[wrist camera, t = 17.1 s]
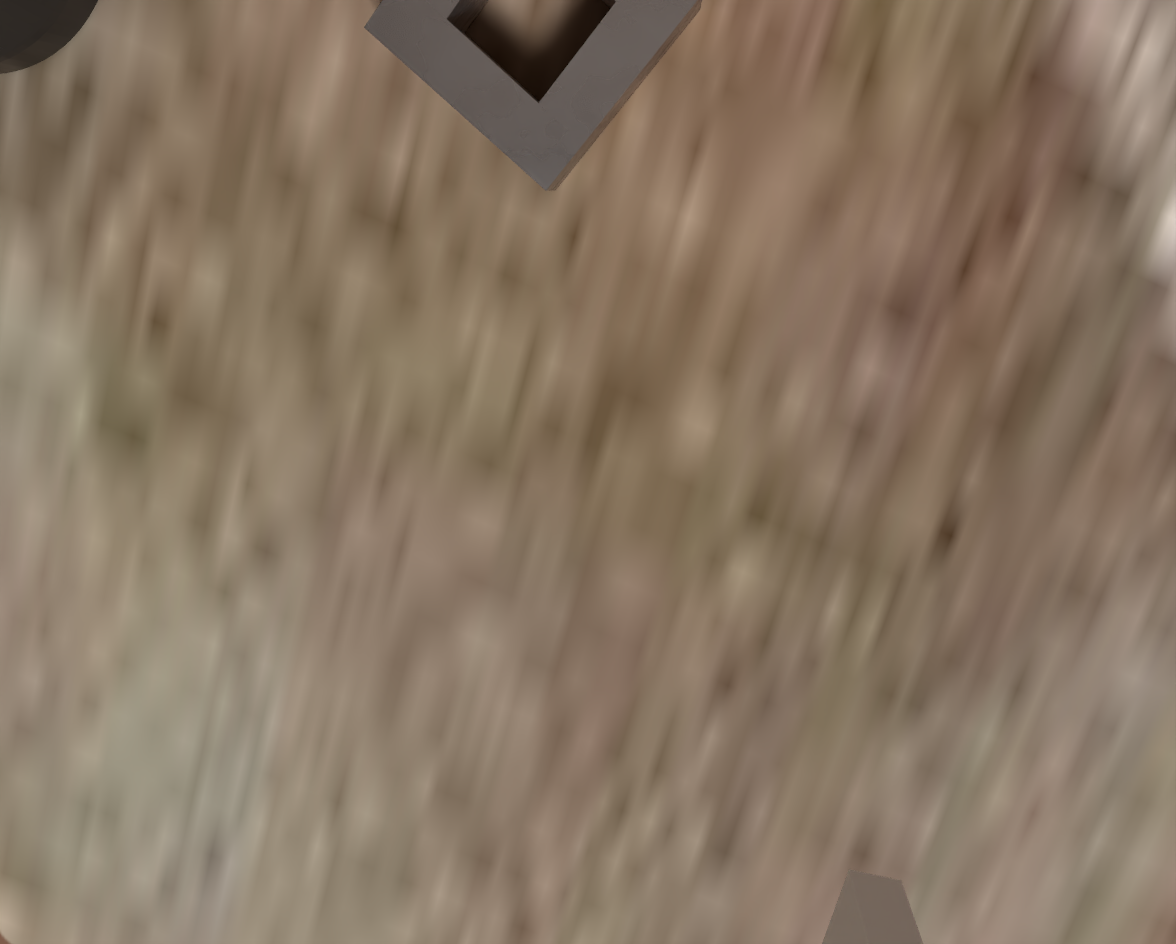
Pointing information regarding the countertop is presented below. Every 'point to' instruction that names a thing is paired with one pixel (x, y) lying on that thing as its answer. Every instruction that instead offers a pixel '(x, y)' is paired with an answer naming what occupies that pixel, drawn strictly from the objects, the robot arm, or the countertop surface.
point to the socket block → (502, 105)
